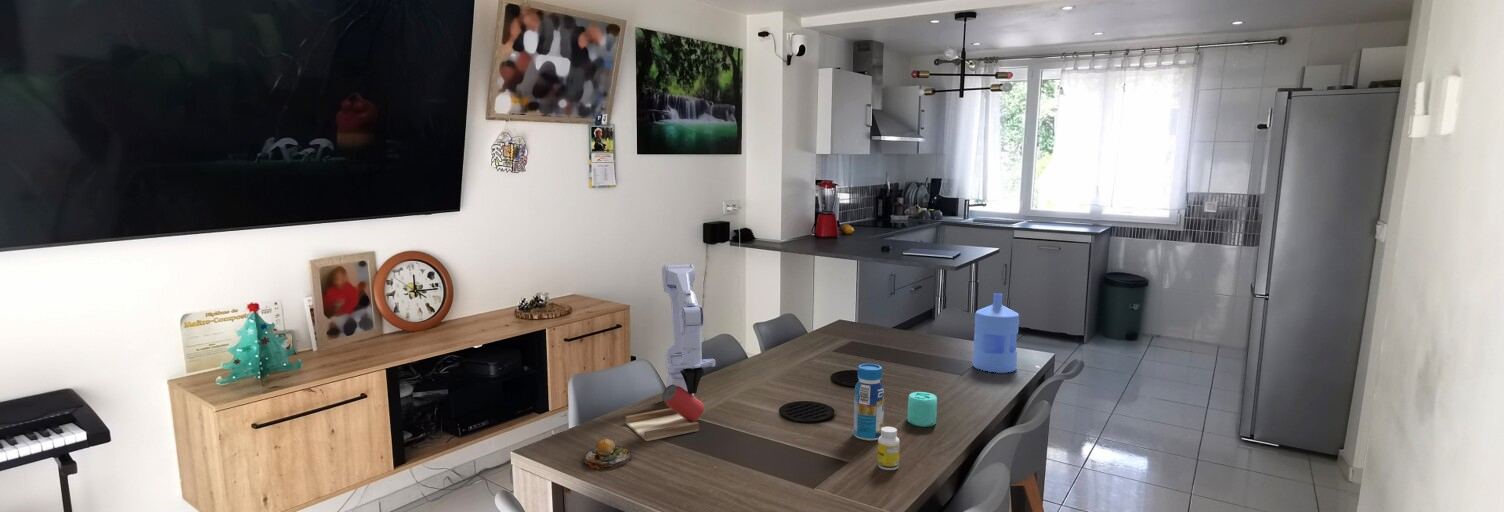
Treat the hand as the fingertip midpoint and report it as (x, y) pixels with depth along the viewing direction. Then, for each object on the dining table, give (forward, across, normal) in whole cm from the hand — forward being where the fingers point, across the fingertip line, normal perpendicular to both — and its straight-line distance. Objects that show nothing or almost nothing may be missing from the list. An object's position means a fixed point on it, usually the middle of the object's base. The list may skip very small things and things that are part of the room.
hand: (692, 393), depth 220 cm
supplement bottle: (+10, +29, -54) cm, 62 cm away
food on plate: (+10, -31, -14) cm, 36 cm away
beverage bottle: (+9, +38, -35) cm, 52 cm away
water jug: (+8, +123, -4) cm, 123 cm away
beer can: (+6, +2, 0) cm, 7 cm away
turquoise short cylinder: (+9, +59, -34) cm, 68 cm away
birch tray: (+9, -10, 0) cm, 13 cm away
